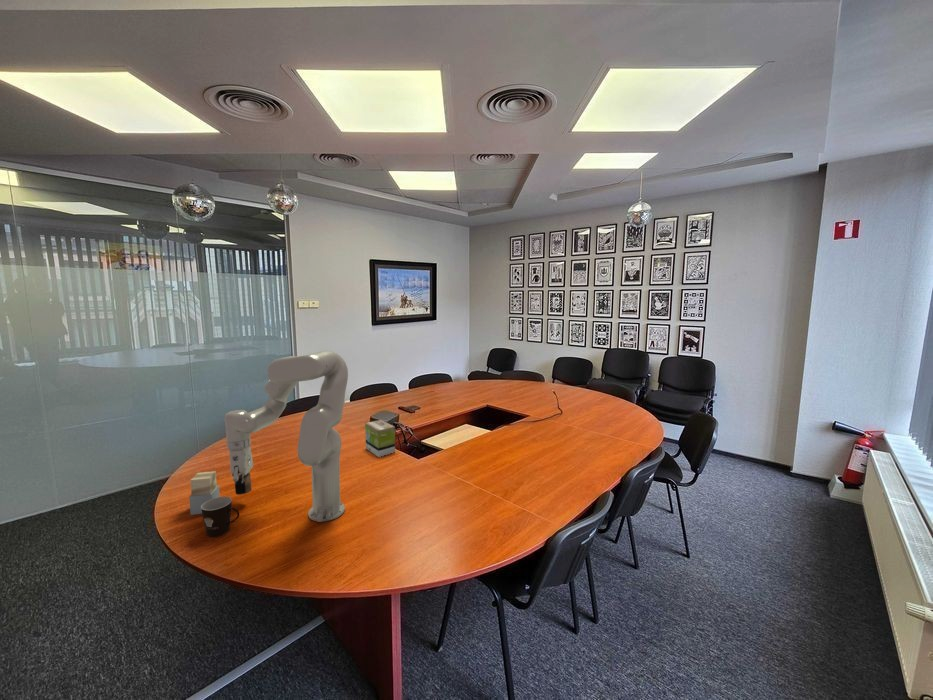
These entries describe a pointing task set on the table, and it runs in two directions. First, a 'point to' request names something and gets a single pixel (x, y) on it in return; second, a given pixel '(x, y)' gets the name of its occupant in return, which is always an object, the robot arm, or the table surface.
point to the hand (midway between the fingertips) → (243, 489)
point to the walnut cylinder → (246, 483)
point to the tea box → (380, 437)
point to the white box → (201, 501)
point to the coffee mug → (217, 515)
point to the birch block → (203, 483)
